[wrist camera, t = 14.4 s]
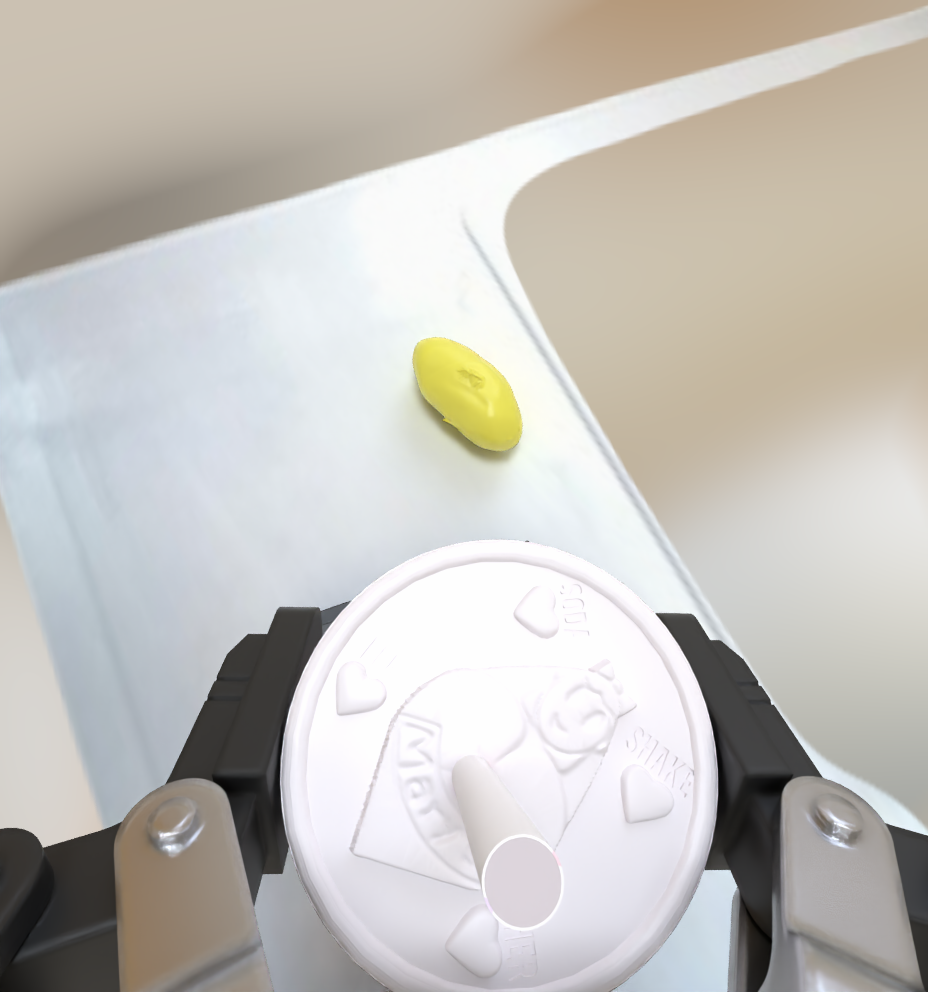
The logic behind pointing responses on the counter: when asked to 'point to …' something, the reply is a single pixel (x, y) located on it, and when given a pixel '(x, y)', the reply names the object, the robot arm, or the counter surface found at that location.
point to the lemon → (468, 393)
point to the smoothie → (499, 775)
